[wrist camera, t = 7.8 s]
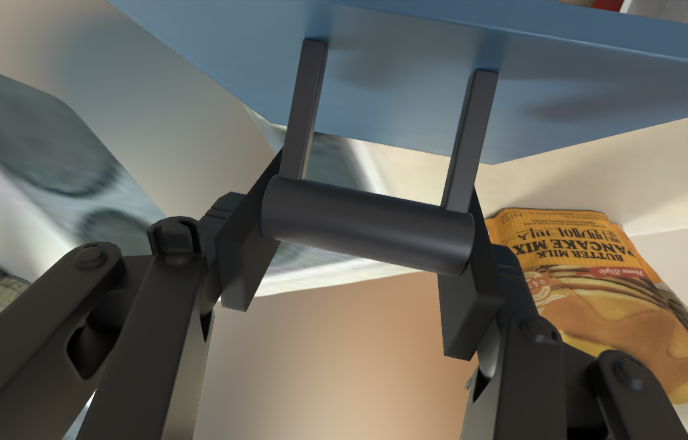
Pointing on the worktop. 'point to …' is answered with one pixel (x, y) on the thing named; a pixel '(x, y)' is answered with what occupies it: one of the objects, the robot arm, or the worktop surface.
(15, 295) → the olive green rough post
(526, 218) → the pancake mix bag
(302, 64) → the lid
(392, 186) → the worktop surface
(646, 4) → the plastic cup
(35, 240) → the worktop surface
